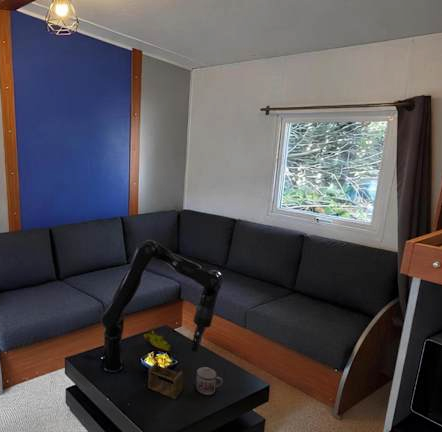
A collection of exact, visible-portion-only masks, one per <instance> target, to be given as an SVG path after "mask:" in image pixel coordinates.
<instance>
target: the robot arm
mask: <svg viewBox="0 0 442 432" xmlns="http://www.w3.org/2000/svg"><path fill="white" fill-rule="evenodd" d="M153 260H157V261H161V262H163V263H165V264H166V265H168V266H169V267H170V268H172V270H174V271H175V272H177V273H178V274H180V275H182V276H184V277H186V278H188V279H191V280H193V281H194V282H196V283H197V284H198V285H200V286H201V287H203V288H202V291H201V292H200V294H199V298H198V301H197V305H196V308H195V312H194V316H193V321H192V322H193V324H195V325H196V326H195V328H194V332H193V333H194V334H193V338H192V347H191V351H193V352H195V353H196V352H197V351H198V348H199V345H200V344H201V343H202V339H203V336H204V335H205V332H206V330H207V328H210V327H211V326H212V322H213V317H214V313H215V307H216V303H217V298H218V294H219V292H220V290H221V287H222V284H223V275H222V273H221V272H220V271H219V270H216V269H212V270H208V271H207V270H205V269H203V268H202V266H201V265H199V264H198V263H196V262H193V261H191V260H188V259H187V258H184V257H182V256H180V255H178V254H176V253H174V252H172V251H171V250H169V249H167V248H166V247H164V246H162V245H161V244H159V243H158V242H156V241H154V240H152V239H147V240H144V241H141V243H139V244H137V246H136V247H135V250H134V252H133V255H132V258H131V260H130V263H129V265H128V267H127V268H126V270H125V272H124V273H123V275H122V277H121V278H120V281H119V283H118V285H117V287H116V289H115V291H114V294H113V296H112V298H111V300H110V302H109V304H108V306H107V308H106V309H105V310H104V312H103V313H102V315H101V319H100V320H101V324H102V326H103V328H104V329H105V330H104V332H103V349H102V351H101V354H100V355H99V354H97V355H94V356H90V355H88V354H85V356H86V357H87V358H89V359H91V360H93V359H95V358H99V362H101V367H102V368H103V369H104V370H105V371H106V372H108V373H117V372H120V371H121V370H122V360H123V358H122V352H123V351H122V347H123V345H122V343H123V333H124V325H125V323H124V322H125V321H124V320H125V317H124V312H123V311H124V310H125V309H126V307H127V306H128V305H129V304H130V302H131V301H132V300H133V298H134V297H135V295H137V292H138V290H139V288H140V285H141V283H142V277H143V274H144V271H146V268H147V266H148V265H149V264H150V263H151V262H152V261H153Z"/></svg>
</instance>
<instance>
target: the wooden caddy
mask: <svg viewBox="0 0 442 432" xmlns="http://www.w3.org/2000/svg"><path fill="white" fill-rule="evenodd" d="M147 375H148V376H147V377H148V378H147V388H148V389H149V390H152V391H154V392H157V393H159V394H162V395H164V396H166V397H169V398H171V399H174V400H176V399H177V397H178V396H179V395H180V394H181V393H182V391H183V381H184V379H183V377H184V371H182V370H180V371H179V372H178V371H174V370H172V369H169V368H167V367H165V366H161V365H160V364H159V362H158V361H156V362H154V363H153V365H151V366H150V367H149V368H148V374H147ZM160 378H163V379H164V380H162V379H160ZM165 379H166V380H167V381H166V380H165ZM168 381H171V382H168ZM172 382H173V383H172Z"/></svg>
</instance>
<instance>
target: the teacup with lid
mask: <svg viewBox="0 0 442 432" xmlns="http://www.w3.org/2000/svg"><path fill="white" fill-rule="evenodd" d="M217 380H220V382H219V383H217ZM222 385H223V378H221V377H220V376H217V371H215V370H214V369H212V368H210V367H208V366H202V367H199V368H198V369H197V370H196V386H195V387H196V390H197V392H198V393H199V394H203V395H206V396H211V395H214V394H215V392H216V388H219V387H221V386H222Z"/></svg>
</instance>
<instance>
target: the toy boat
mask: <svg viewBox="0 0 442 432" xmlns="http://www.w3.org/2000/svg"><path fill="white" fill-rule="evenodd" d="M156 333H158V334H156ZM143 339H145V340H147V342H148V343H149V342H150V344H151V346H152V347H154V348H156V349H157V350H159V351H160V350H161V351H166V352H167V351H170V350H171V345H170V343H168V342H167V341H166V340H164V337H163V335H162V333H161V332H160V331H154V330H152V331H150V332H149V333H147V334H146V333H143Z"/></svg>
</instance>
